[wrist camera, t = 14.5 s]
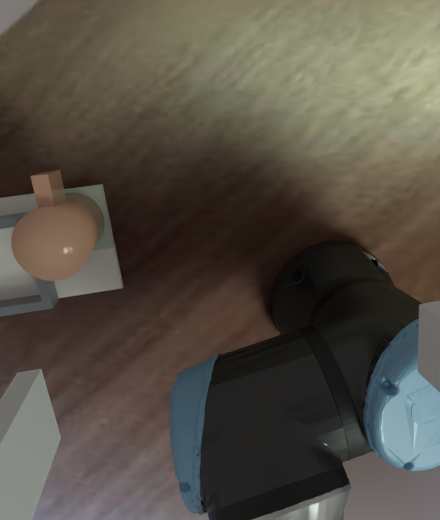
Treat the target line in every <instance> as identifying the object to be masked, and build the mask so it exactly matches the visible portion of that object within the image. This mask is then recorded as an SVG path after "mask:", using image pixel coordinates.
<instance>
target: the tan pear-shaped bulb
mask: <svg viewBox="0 0 440 520" xmlns="http://www.w3.org/2000/svg"><path fill="white" fill-rule="evenodd" d="M31 180H32V184H33V189H34V193H35V197H36V201H37V206H38V208H37V209H35V210H33V211H32V212H30V213H28V214H27V215H25V216H24V217H23V218H21V219H20V220H19V222H18V223H17V224H16V226H15V227H14V230H13V232H12V236H11V248H12V252H13V255H14V257H15V259H16V261H17V262H18V264H19V265H20V266H21V267H22V268H23V269H24V270H25V271H26V272H27V273H29V274H30V275H32V276H34V277H36V278H39V279H42V280H47V281H59V280H64V279H67V278H69V277H71V276H73V275H75V274H76V273H77V272H79V271H80V270H81V268H82V267H83V266H84V264H85V263H86V261H87V259H88V258H89V256H90V254H91V253H92V251H93V249H94V248H95V246H96V244H97V243H98V241H99V239H100V238H101V236H102V234H103V231H104V226H105V221H104V216H103V213H102V211H101V209H100V207H99V206H98V205H97V204H96V202H95V201H93V200H92V199H91V198H89V197H87V196H85V195H83V194H79V193H65V191H64V186H63V182H62V177H61V172H60V170H54V171H45V172H42V173H38V174H35V175H32V176H31Z"/></svg>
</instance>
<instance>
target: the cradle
mask: <svg viewBox="0 0 440 520" xmlns="http://www.w3.org/2000/svg"><path fill="white" fill-rule="evenodd" d="M28 213H30V212H25V213H18V214H11V215H4V216H0V229H4V228H11V227H15V226H16V224H17V223H18V222H19V220H20V219H21V218H23V217H24V216H25V215H27V214H28ZM35 278H36V277H35ZM36 282H37V286H38V289H39V293H40V295H33V296H27V297H20V298H14V299H7V300H1V301H0V317H2V316H8V315H15V314H21V313H27V312H34V311H40V310H46V309H53V308H54V307H55V305H56V304H57V302H58V301H59V298H58V294H57V290H56V286H55V282H54V281H47V280H42V279H39V278H36Z"/></svg>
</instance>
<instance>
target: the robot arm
mask: <svg viewBox="0 0 440 520" xmlns="http://www.w3.org/2000/svg"><path fill="white" fill-rule="evenodd" d="M271 311H272V316H273V319H274V322H275V324H276V326H277V328H278V330H279V332H280V333H281V335H279V336H276V337H273V338H270V339H267V340H264V341H261V342H258V343H255V344H252V345H249V346H246V347H243V348H240V349H237V350H234V351H231V352H228V353H225V354H221V353H220V354H216V355H214V356H213V357H212V358H211V359H208V360H206V361H203V362H201V363H198V364H196V365H194V366H191V367H189V368H186V369H184V370H183V371H182V372H181V373H180V374H179V375H178V376H177V377H176V379H175V381H174V383H173V386H172V390H171V395H170V405H169V427H170V440H171V449H172V457H173V463H174V469H175V474H176V477H177V480H178V481H179V486H180V493H181V496H182V499H183V502H184V504H185V506H186V508H187V509H188V510H189V511H190V512H192V513H198V514H200V515H202V514H204V513H206V512H207V513H208V517H209V520H344V510H345V507H346V504H347V501H348V498H349V495H350V492H351V489H352V487H351V484H350V482H349V479H348V477H347V474H346V472H345V469H344V467H343V462H345V461H348V460H350V459H353V458H356V457H359V456H362V455H365V454H367V453H370V452H373V451H374V452H375V454H376V455H378V456H379V458H382V459H383V460H384V461H386V462H387V463H389V464H390V465H392V466H394V467H397V468H401V467H404V468H405V469H406V470H408V471H421V470H426V469H431V468H434V467H437V466H439V465H440V301H436V302H430V303H425V304H422V303H421V302H419V301H417V300H416V299H414V298H413V297H411V296H409V295H408V294H406V293H404V292H403V291H401V290H399V289H398V288H396V287H395V285H394V283H393V281H392V279H391V277H390V275H389V273H388V272H387V270H386V268H385V267H384V266H383V264H382V263H381V262H380V261H379V260H378V259H377V258H376V257H375V256H374V255H372V254H371V253H369V252H367V251H366V250H364V249H362V248H360V247H358V246H356V245H353V244H350V243H346V242H339V241H332V242H324V243H320V244H316V245H313V246H311V247H309V248H307V249H305V250H303V251H301V252H300V253H298V254H297V255H296V256H294V257H293V258H292V259H291V260H290V261H289V262H288V263H287V264H286V265H285V267H284V268H283V269H282V271H281V272H280V274H279V276H278V278H277V279H276V282H275V284H274V287H273V291H272V296H271ZM60 439H61V436H60V433H59V429H58V426H57V422H56V419H55V415H54V412H53V408H52V405H51V401H50V398H49V394H48V391H47V387H46V384H45V380H44V377H43V373H42V370H41V369H37V370H31V371H25V372H19V373H17V374H16V376H15V377H14V379H13V380H12V382H11V383H10V385H9V387H8V388H7V390H6V391H5V393H4V394H3V396H2V398H1V399H0V520H32V519H33V516H34V513H35V510H36V507H37V504H38V502H39V499H40V496H41V493H42V490H43V487H44V485H45V482H46V479H47V476H48V473H49V470H50V468H51V465H52V462H53V459H54V456H55V453H56V450H57V448H58V445H59V442H60Z"/></svg>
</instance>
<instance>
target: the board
mask: <svg viewBox="0 0 440 520" xmlns="http://www.w3.org/2000/svg"><path fill="white" fill-rule="evenodd" d="M64 191H65V193H79V194H83V195H85V196H87V197H89V198H91V199H92V200H93V201H95V202H96V204H97V205H98V206H99V207H100V209H101V211H102V213H103V216H104V221H105V226H104V231H103V234H102V236H101V238H100V239H99V241H98V243H97V244H96V246H95V248H94V249H93V251H92V253H91V254H90V256H89V258H88V259H87V261H86V263H85V264H84V266H83V267H82V268H81V270H80V271H79V272H77V273H76V274H75V275H73V276H71V277H69V278H67V279H64V280H59V281H54V282H55V286H56V290H57V294H58V298H63V297H70V296H76V295H83V294H89V293H95V292H102V291H108V290H115V289H121V288H123V281H122V276H121V271H120V267H119V262H118V257H117V252H116V247H115V242H114V237H113V232H112V227H111V222H110V218H109V213H108V208H107V203H106V198H105V193H104V188H103V184H99V185H92V186H84V187H77V188H69V189H64ZM37 208H38V206H37V201H36V197H35V193H32V194H25V195H17V196H10V197H3V198H0V216H4V215H11V214H18V213H25V212H32V211H33V210H35V209H37ZM13 230H14V227H11V228H4V229H0V301H1V300H7V299H14V298H20V297H27V296H33V295H40V293H39V289H38V286H37V282H36V278H35V277H34V276H32V275H30V274H29V273H27V272H26V271H25V270H24V269H23V268H22V267H21V266H20V265H19V264H18V262H17V261H16V259H15V257H14V255H13V252H12V248H11V236H12V232H13Z"/></svg>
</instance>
